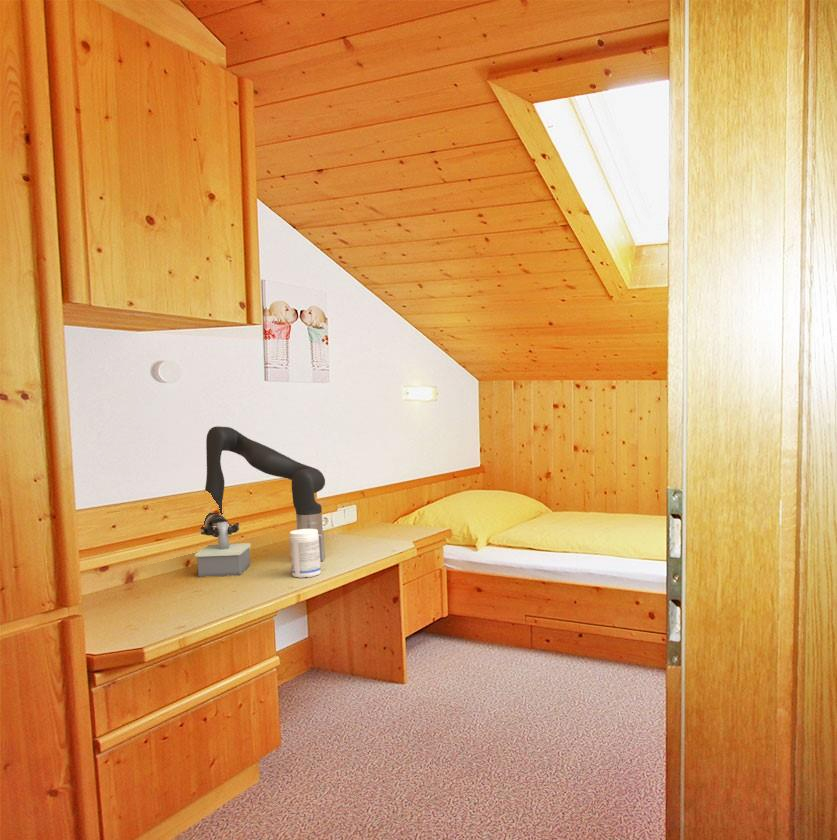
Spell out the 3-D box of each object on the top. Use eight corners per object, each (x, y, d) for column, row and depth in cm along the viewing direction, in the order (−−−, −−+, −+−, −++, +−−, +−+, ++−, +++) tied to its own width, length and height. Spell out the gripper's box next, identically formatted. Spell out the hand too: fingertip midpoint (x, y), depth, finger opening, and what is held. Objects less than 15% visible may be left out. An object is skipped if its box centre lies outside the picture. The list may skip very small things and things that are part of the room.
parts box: (250, 566, 256) (249, 546, 256) (239, 575, 242) (238, 554, 242) (211, 567, 256) (210, 548, 256) (198, 577, 242) (197, 556, 242)
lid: (250, 545, 256) (249, 518, 256) (239, 555, 241) (238, 525, 241) (209, 547, 257) (207, 519, 256) (195, 556, 242) (193, 527, 241)
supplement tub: (326, 572, 241) (324, 528, 241) (311, 579, 232) (309, 534, 232) (301, 570, 245) (299, 527, 245) (285, 577, 236) (283, 533, 236)
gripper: (196, 517, 259) (202, 523, 243) (235, 513, 265) (244, 519, 249) (197, 537, 259) (203, 545, 243) (237, 533, 265) (245, 540, 249)
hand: (224, 532), depth 246 cm, fingers closed on lid, 3 cm apart
